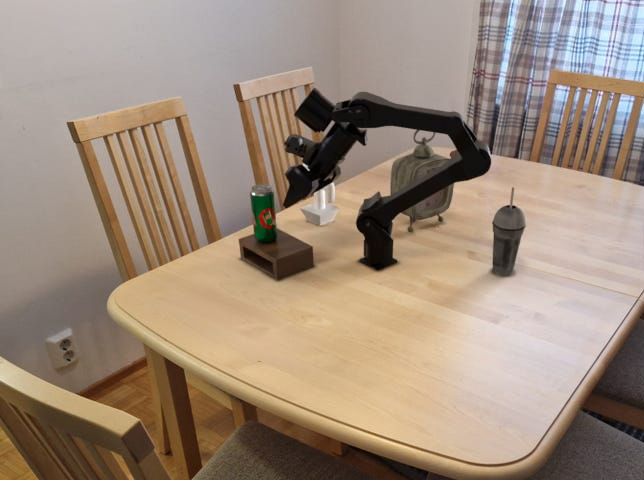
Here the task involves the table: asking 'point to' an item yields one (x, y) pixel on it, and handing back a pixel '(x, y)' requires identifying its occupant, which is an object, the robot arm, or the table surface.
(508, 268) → the beverage cup
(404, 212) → the tabletop clock
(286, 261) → the shelf
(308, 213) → the figurine
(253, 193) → the soda can
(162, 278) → the table surface
